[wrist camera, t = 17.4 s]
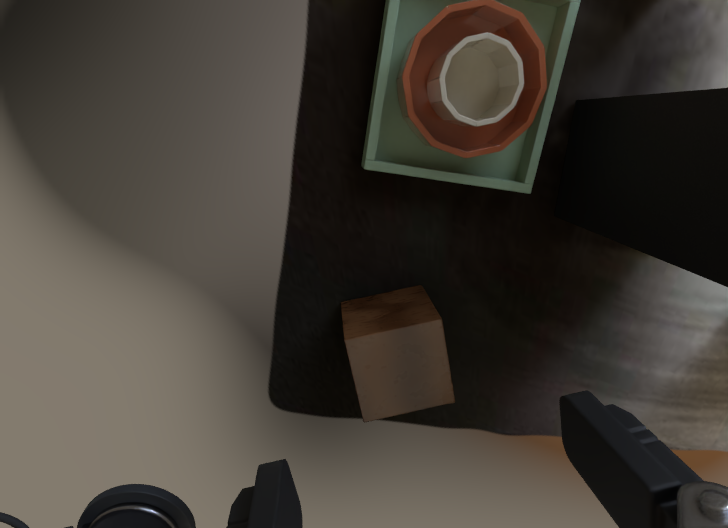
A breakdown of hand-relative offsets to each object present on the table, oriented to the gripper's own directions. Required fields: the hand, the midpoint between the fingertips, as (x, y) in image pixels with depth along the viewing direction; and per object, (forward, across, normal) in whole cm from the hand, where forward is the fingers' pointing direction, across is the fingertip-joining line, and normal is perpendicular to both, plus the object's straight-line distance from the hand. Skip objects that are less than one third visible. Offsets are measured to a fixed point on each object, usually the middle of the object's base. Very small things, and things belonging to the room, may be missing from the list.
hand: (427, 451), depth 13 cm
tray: (+30, -11, -10) cm, 33 cm away
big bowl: (+29, -11, -10) cm, 33 cm away
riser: (+30, -1, +11) cm, 32 cm away
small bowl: (+28, -11, -10) cm, 32 cm away
